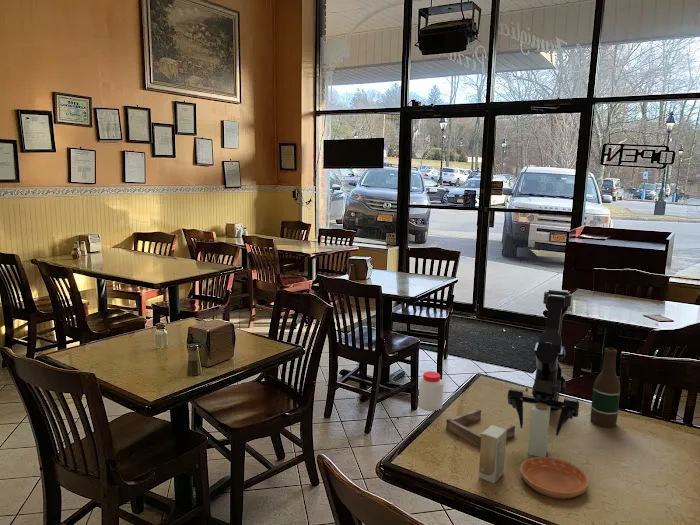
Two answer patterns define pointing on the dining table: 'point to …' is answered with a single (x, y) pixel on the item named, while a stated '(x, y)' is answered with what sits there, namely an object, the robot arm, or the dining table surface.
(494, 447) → the skincare box
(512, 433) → the box
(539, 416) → the block
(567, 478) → the saucer
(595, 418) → the beer bottle
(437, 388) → the pill bottle
